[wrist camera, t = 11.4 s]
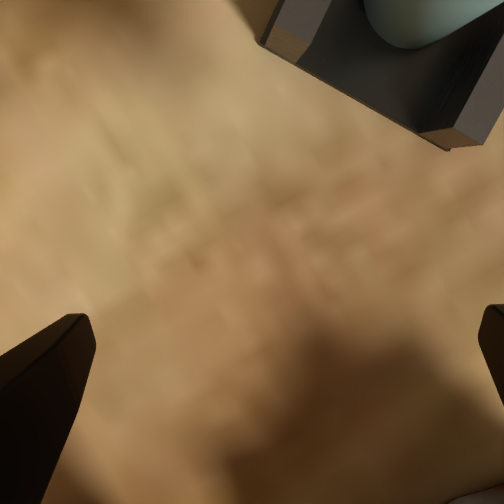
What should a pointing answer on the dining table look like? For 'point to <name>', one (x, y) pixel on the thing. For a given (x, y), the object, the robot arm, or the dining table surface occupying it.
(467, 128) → the rail dock
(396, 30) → the teal peg
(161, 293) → the dining table surface
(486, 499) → the lucky cat figurine
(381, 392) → the dining table surface
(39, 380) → the robot arm
